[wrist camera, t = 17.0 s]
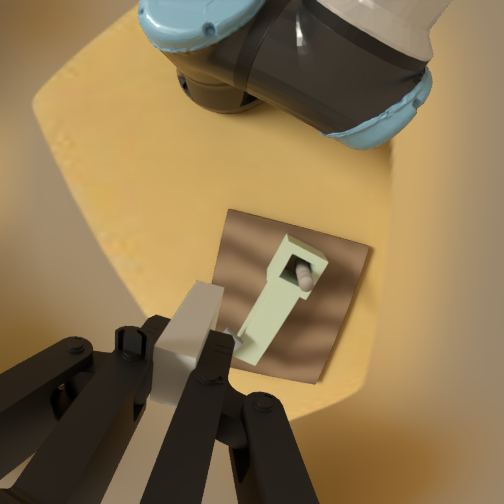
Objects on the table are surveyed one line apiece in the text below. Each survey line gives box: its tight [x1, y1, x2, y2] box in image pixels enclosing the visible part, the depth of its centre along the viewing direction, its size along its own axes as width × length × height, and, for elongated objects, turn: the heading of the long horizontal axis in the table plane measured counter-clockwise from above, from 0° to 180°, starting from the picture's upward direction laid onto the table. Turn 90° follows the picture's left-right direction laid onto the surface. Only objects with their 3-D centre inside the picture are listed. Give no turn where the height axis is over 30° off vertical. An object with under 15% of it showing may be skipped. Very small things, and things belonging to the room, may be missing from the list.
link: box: [232, 234, 328, 366], centre depth 44 cm, size 19×6×5 cm, turn 153°
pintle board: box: [212, 209, 369, 384], centre depth 43 cm, size 26×22×10 cm
